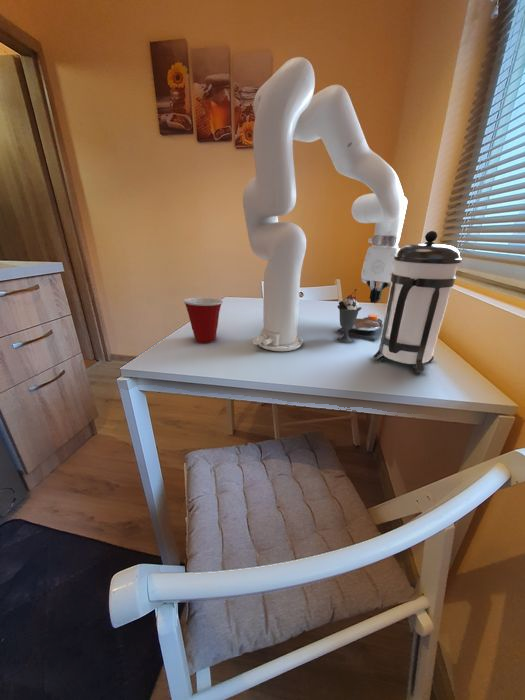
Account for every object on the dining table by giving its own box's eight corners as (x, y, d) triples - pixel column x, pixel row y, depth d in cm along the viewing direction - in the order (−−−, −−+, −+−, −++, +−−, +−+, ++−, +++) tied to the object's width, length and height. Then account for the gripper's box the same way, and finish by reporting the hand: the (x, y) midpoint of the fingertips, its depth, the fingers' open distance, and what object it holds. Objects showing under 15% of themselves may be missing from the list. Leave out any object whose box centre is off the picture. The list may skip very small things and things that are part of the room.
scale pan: (372, 332, 82) (372, 330, 81) (340, 325, 87) (341, 323, 87) (384, 325, 89) (384, 322, 88) (354, 319, 94) (354, 316, 94)
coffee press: (359, 348, 77) (378, 230, 65) (418, 349, 76) (447, 231, 65) (382, 378, 61) (413, 230, 49) (456, 380, 61) (505, 231, 49)
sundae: (356, 338, 84) (364, 288, 79) (356, 345, 79) (364, 292, 73) (334, 335, 86) (340, 286, 81) (332, 342, 81) (338, 291, 75)
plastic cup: (232, 337, 83) (230, 298, 79) (207, 349, 75) (204, 305, 70) (205, 331, 89) (202, 293, 84) (179, 341, 80) (174, 300, 76)
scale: (374, 341, 82) (375, 333, 81) (337, 332, 89) (337, 325, 88) (392, 328, 94) (393, 321, 93) (357, 321, 101) (358, 314, 100)
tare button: (375, 322, 92) (376, 317, 91) (365, 320, 94) (366, 315, 93) (378, 320, 94) (379, 315, 94) (369, 318, 96) (370, 314, 96)
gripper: (356, 241, 86) (347, 300, 93) (408, 243, 77) (394, 308, 84) (366, 241, 91) (356, 297, 98) (415, 243, 83) (401, 304, 90)
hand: (374, 302), depth 91 cm, fingers closed
